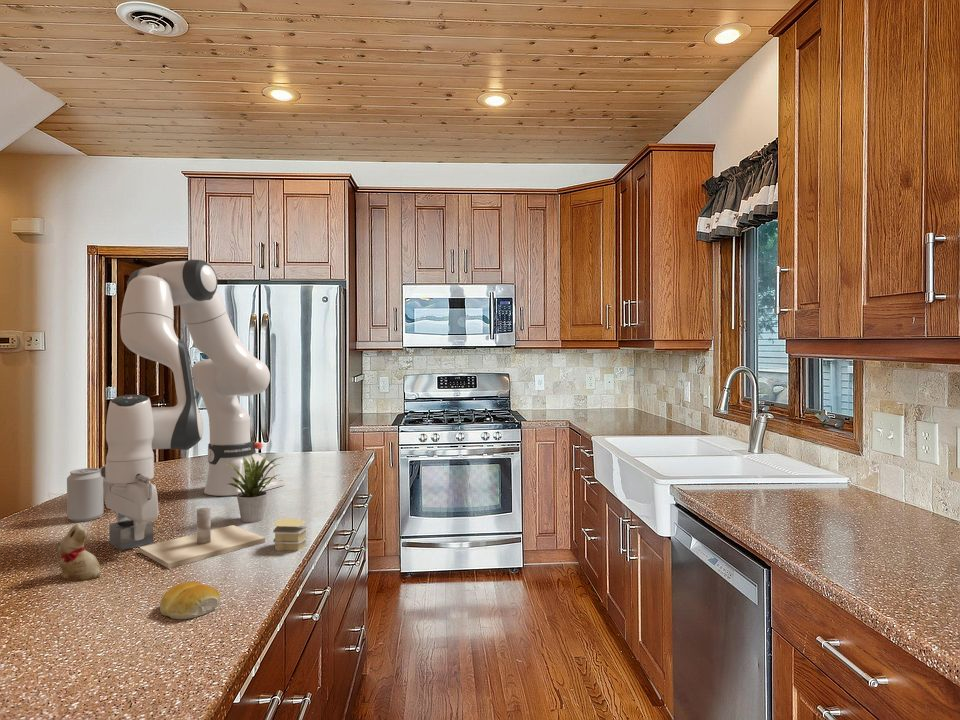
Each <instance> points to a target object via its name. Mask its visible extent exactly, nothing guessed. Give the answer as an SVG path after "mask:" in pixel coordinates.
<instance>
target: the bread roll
mask: <svg viewBox="0 0 960 720" xmlns="http://www.w3.org/2000/svg"><path fill="white" fill-rule="evenodd" d="M220 600H221V593H220V591H218V590H217V588H215V587H214V586H213V587H212V586H211V585H208V584H203V583H201V582H198V581H183V582H182V583H178V584H176V585H174V586H172V587H170V588H169V589H168V590H167V591H165V593H164V595H162V598H161V600H160V603H159V611H160V613H161V615H163V616H165V617H169V618H170V619H173V620H188V619H194V618H199V617H200V616H203V615H206V614H207V615H208V614H209V613H212V612H213V611H214V610H215V609H216V608H217V607H218V605H219V603H220Z"/></svg>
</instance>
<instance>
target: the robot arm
mask: <svg viewBox="0 0 960 720" xmlns="http://www.w3.org/2000/svg"><path fill="white" fill-rule="evenodd" d="M126 284H127V285H126V287H127V288H126V290H125V293H124V297H123V302H122V306H121V313H120V330H119V331H120V338H121V341H122V343H123V344H124V346H125V347H126V348H127V349H128V350H130V352H133V353H134V354H136V355H138V356H140V357H142V358H144V359H147V360H150V361H154V362H156V363H159V364H162V365H164V366H166V367H168V368H169V369H170V370H171V371H172V373H173V379H174V385H175V391H176V392H175V393H176V399H177V404H176V405H173V406H161V407H159V406H158V407H155V406H154V407H152V403H151V399H150V397H148V396H147V395H141V394H124V395H119V396H116V397H114V398H112V399H111V400H110V401H109V404H108V408H107V413H106V424H105V440H106V443H107V448H108V449H107V454H106V457H105V464H104V465H103V466H101V467H100V468H99V469H100V474H101V477H103V501H104V504H105V507H106V508H107V509H109V510H112V511H114V512H115V517H116V520H117V521H116V522H120V521H125V520H130V519H132V520H134V525H135V527H134V531H132V535H133V536H132V538H133V539H134V540H137V541H138V540H142V539H143V538H144V531H145V528H146V525H147V523H148V522H155V521H157V520H158V517H159V500H158V498H159V497H158V492H157V491H158V490H157V486H156V485H155V484H154V483H151V481H150V480H152V479H153V478H154V477H155V453H154V451H153V450H168V449H169V450H178V451H179V450H182V451H184V450H185V451H188V450H190V449H191V448H193V447H194V446H195V445H197V444H198V443H199V442H200V441H202V437H203V434H204V422H203V418H202V415H201V412H200V408H199V404H198V403H199V402H198V399H197V393H198V394H199V395H200V397H201V398H202V401H203V403H204V406H205V408H206V412H207V415H208V423H209V424H208V426H209V429H208V430H209V443H208V444H207V445H208V446H207V460H208V471H207V477H206V478H207V479H206V483H205V487H204V490H203V494H205V495H208V496H218V497H219V496H224V497H225V496H237V495H238V494H239V493H242V492H241V491H240V490H239V489H238V488H237V487H235V486H232V485H228V484H229V483H234V484H237V483H236V482H235V481H234V480H233V479H232V478H231V477H234V478H236V479H238V480H239V481H241V482H242V483H243V484H245V483H244V482H243V480H242V479H241V478H240V476H239V475H238V474H237V472H236V471H235V470H234V469H233V468H232V467H231V466H233V467H234V468H236V469H237V470H238V471H239V472H240V474H241V475H242V476H243V477H244V479H245V470H244V462H243V457H244V458H245V459H246V460H247V462H248V463H249V464H250V460H251V463H252V459H251V457H250V454H251V455H252V457H253V459H254V460H255V465H256V462H257V461H259V465H260V463H261V461H262V460H263V458H264V457H263V456H261V455H260V454H259V453H257V451H256V449H257V450H262V449H263V447H264V444H263V443H262V442H259V441H257V442H256V441H255V442H254V441H252V440H251V416H250V414H249V412H248V411H247V410H246V409H245V408H244V407H242V404H241V403H240V400H239V398H238V397H249V396H254V395H259V394H261V393H264V392H265V391H266V390H267V388H268V387H269V384H270V381H271V373H270V370H269V368H268V366H267V364H266V363H264V362H263V361H262V360H260V359H258V358H257V357H256V356H254V355H253V354H252V353H251V352H250V351H249V350H248V349H247V348H246V346H245V345H244V343H242V341H241V340H240V338H239V337H238V335H237V333H236V331H235V328H234V327H233V324H232V322H231V320H230V316H229V314H228V311H227V309H226V307H225V304H224V302H223V299H222V298H221V296H220V293H219V292H218V290H217V289H218V285H219V284H218V277H217V274H216V272H215V269H214V268H213V267H212V266H211V264H209V263H208V262H206V261H205V260H202V259H188V260H179V261H178V260H177V261H176V260H175V261H168V262H167V261H166V262H165V263H162V264H161V263H160V264H156V265H152V266H149V267H147V266H145V267H141V268H139V269H136V270H133V272H132V273H131V274H130V275H129V278H128V281H127V283H126ZM178 306H179V307H180V311H181V315H182V317H183V320H184V322H185V324H186V327H187V329H188V332H189V335H190V337H191V339H192V342H193V344H194V346H195V348H196V349H197V350H198V351H199V352H200V353H203V354H204V355H206V356H207V357H208V358H205V359H202V360H199V361H197V362H195V363H194V364H193V366H192V361H191V356H190V352H189V349H188V346H187V344H186V343H185V341H183V340H181V339H179V337H178V336H177V334H176V331H175V327H174V325H175V324H174V320H175V315H174V314H175V313H174V311H175V309H174V307H178ZM249 453H250V454H249ZM247 455H248V456H249V458H250V460H249V458H248V456H247ZM266 460H267V459H266ZM222 462H223V463H222ZM269 462H270V461H269V460H267V461H266V462H265V464H264V466H263V468H264V467H265V466H266V465H267V464H268V463H269ZM225 463H227V464H225ZM228 464H229V465H231V466H229V465H228ZM250 466H251V464H250ZM272 466H274V464H270V465H269V466H268V467H267V469H266V470H265V471H264V473H263V475H262V476H261V478H260V480H259V483H260V482H261V481H262V480H263V478H264V476H265V475H266V473H267V472H268V470H269V469H270V468H271V467H272ZM263 468H262V469H263ZM251 471H252V469H251ZM276 475H277V470H276V466H274V467H273V468H272V469H271V470H270V471H269V472H268V474H267V475H266V476H265V478H267V477H274V476H276ZM274 478H276V479H277V480H276V479H274ZM274 478H273V479H272V480H271V481H270V483H269V484H268V485H266V486H265V488H266V489H265V488H263V487H261V489H262V488H263V490H262V491H267V490H268V491H269V490H271V489H275V488H279V487H283V486H285V480H283V479H281V478H279V477H278V476H276V477H274ZM270 479H271V478H269V479H267V480H265V481H264V482H268V481H269V480H270ZM264 482H263V483H264ZM259 483H258V485H259ZM265 484H266V483H264V484H263V485H262V486H264V485H265ZM238 486H239V487H240V485H238ZM240 488H241V487H240ZM241 489H242V488H241ZM261 489H260V490H261ZM242 490H243V489H242ZM260 490H259V491H260ZM243 492H245V491H244V490H243Z"/></svg>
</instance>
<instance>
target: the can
mask: <svg viewBox="0 0 960 720" xmlns="http://www.w3.org/2000/svg"><path fill="white" fill-rule="evenodd" d="M100 469H101V468H98V467H86V468H77V469H74V470H71V471H70V472H69V474H70V475H68V476H67V477H66V508H67V509H66V515H67V516H66V518H67V519H69V520H70V521H72V522H76V523H81V522H88V521H94V520H97V519H99V518H100V517H101V516H103V514H104V507H105V506H104V490H103V479H104V478H103V477H101V474H100Z"/></svg>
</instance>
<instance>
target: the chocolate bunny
mask: <svg viewBox="0 0 960 720" xmlns="http://www.w3.org/2000/svg"><path fill="white" fill-rule="evenodd" d="M88 535H89V532H88V530H87V529H85V528H83V526H82V524H80V522H77V523H76V524H74V525H72V527H71V528H70V529H69V531H68V532H67V535H65V537H62V538H61V539H60V540H59V541H58V543H57V553H58V555H60V557H61V558H60V560H59V567H60V569H61V573H60V577H62V578H63V579H64V580H67V581H78V582H79V581H88V580H93V579H99V578H100V577H102V576H101V575H102V572H101V565H100V562H99V561H98V558H97V557H96V556H95V554H93V553H91V552H89V551H87V550H86V548H85V542H86V540H87V538H88Z"/></svg>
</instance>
